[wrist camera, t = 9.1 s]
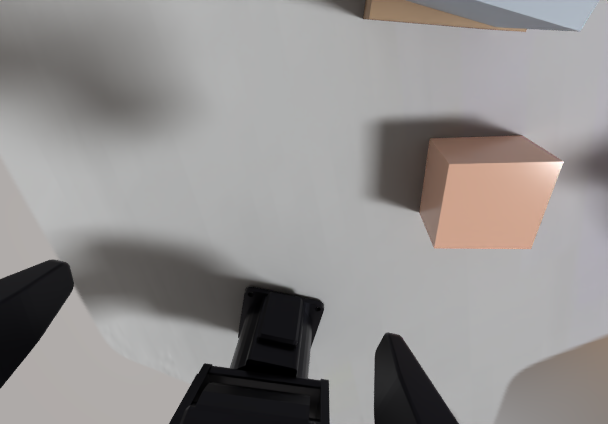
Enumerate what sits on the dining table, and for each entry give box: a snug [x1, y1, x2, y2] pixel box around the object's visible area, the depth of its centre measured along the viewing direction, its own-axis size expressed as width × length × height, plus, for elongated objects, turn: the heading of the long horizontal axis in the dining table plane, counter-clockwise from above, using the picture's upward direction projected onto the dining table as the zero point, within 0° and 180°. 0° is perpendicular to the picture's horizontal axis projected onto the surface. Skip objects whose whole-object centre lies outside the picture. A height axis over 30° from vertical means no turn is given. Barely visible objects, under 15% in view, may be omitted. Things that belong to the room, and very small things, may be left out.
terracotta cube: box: [419, 135, 564, 249], centre depth 18 cm, size 5×5×4 cm
